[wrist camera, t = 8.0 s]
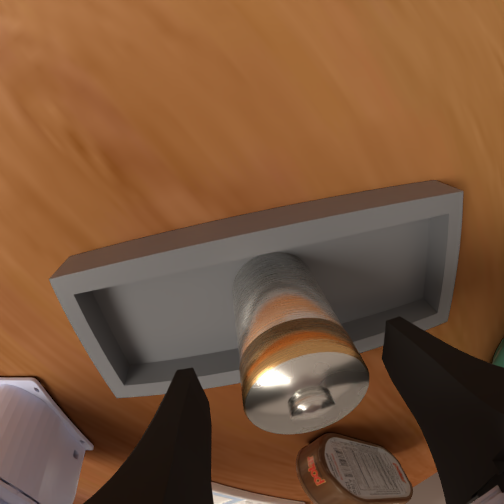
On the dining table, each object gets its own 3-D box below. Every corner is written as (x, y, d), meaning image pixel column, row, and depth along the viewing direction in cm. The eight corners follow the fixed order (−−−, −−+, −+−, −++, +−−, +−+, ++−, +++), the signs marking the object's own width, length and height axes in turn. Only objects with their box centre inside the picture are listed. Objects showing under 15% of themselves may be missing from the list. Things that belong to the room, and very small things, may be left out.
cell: (318, 310, 16) (374, 425, 9) (243, 331, 16) (262, 457, 9) (306, 240, 14) (379, 348, 7) (220, 264, 14) (227, 392, 7)
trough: (427, 300, 18) (447, 321, 16) (124, 369, 17) (116, 398, 15) (434, 180, 15) (463, 191, 12) (69, 256, 14) (48, 279, 12)
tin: (285, 437, 22) (305, 523, 15) (312, 418, 21) (340, 508, 14) (376, 458, 27) (399, 515, 20) (397, 444, 26) (424, 501, 19)
